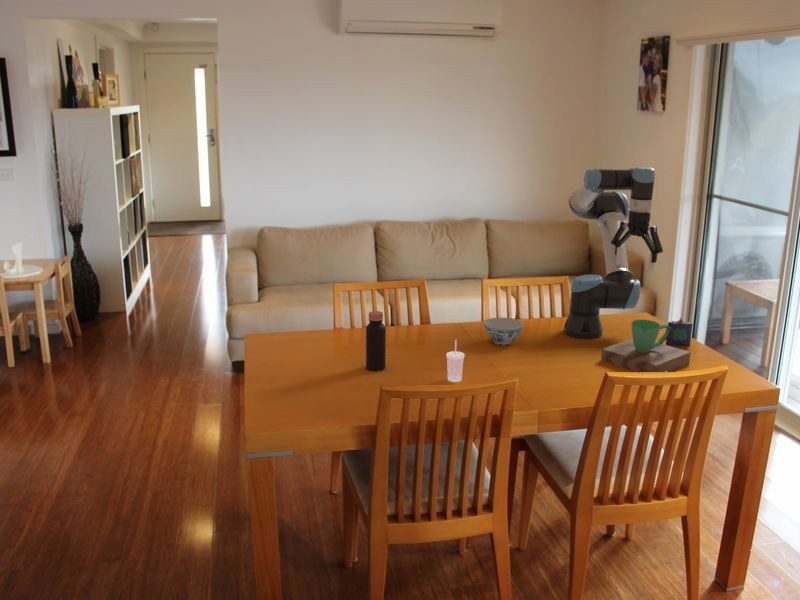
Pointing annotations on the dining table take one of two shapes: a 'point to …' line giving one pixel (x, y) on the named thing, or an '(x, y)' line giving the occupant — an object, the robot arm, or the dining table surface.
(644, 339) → the mug
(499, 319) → the chinaware
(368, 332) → the bottle
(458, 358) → the beverage cup
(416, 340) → the dining table surface
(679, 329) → the flask
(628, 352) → the walnut box
